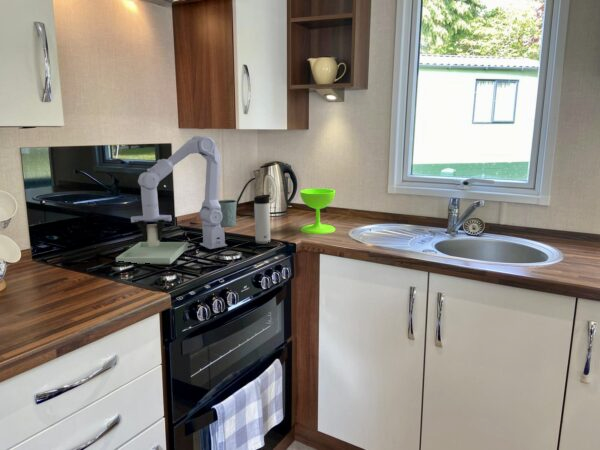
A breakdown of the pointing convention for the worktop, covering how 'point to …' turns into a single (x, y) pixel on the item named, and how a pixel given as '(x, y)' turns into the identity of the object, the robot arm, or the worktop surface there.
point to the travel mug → (262, 219)
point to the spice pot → (152, 235)
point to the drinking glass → (228, 213)
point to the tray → (153, 253)
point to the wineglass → (317, 208)
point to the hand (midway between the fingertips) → (153, 239)
